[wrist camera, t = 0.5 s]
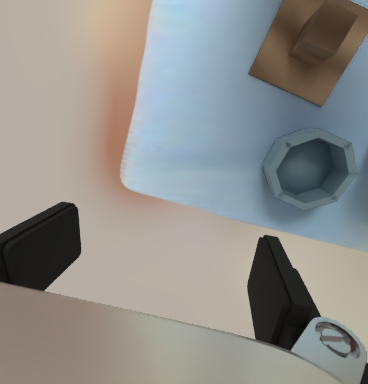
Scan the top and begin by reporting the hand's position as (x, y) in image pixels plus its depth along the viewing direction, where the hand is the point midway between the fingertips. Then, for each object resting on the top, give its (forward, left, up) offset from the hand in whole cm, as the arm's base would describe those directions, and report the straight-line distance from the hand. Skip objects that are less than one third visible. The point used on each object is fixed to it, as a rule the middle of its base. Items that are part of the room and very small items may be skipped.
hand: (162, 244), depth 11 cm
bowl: (-5, +15, -28) cm, 32 cm away
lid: (-20, +7, -29) cm, 36 cm away
